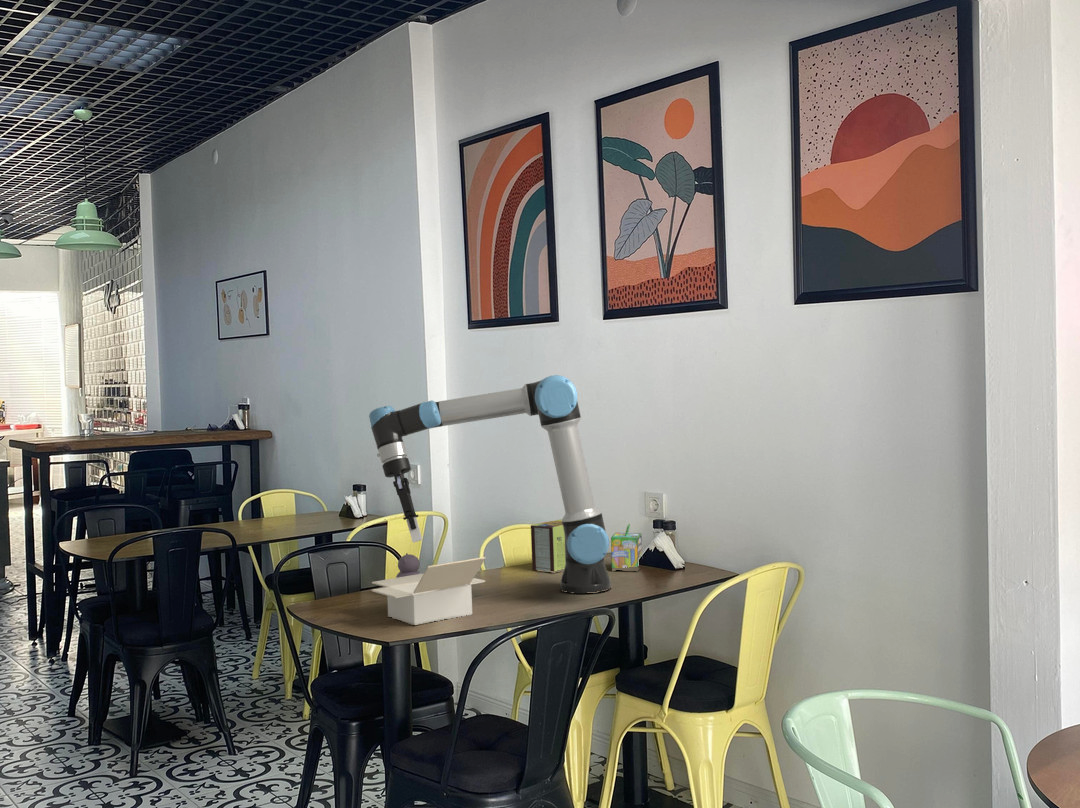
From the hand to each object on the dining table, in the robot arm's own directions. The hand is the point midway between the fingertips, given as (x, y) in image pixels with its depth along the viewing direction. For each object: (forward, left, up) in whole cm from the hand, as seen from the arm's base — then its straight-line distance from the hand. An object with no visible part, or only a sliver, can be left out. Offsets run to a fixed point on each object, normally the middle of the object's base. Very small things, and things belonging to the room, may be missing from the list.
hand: (417, 541), depth 267 cm
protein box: (-16, -67, -20) cm, 72 cm away
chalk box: (-39, -70, -20) cm, 83 cm away
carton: (-2, +2, -20) cm, 20 cm away
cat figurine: (+14, -19, -20) cm, 31 cm away
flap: (-15, +10, -7) cm, 19 cm away
